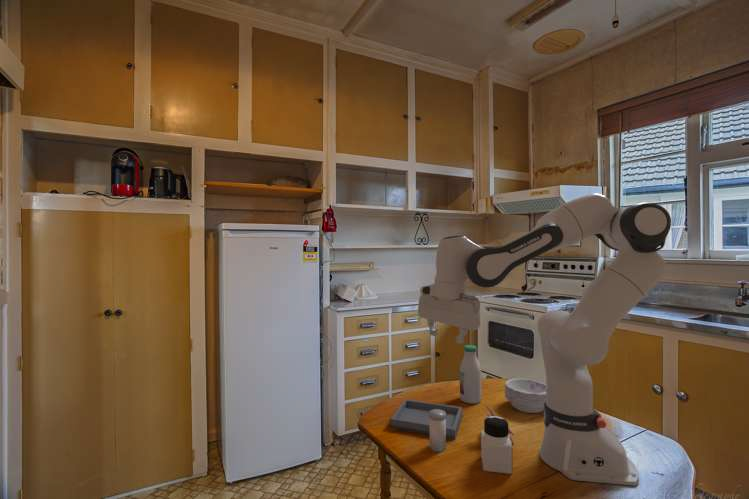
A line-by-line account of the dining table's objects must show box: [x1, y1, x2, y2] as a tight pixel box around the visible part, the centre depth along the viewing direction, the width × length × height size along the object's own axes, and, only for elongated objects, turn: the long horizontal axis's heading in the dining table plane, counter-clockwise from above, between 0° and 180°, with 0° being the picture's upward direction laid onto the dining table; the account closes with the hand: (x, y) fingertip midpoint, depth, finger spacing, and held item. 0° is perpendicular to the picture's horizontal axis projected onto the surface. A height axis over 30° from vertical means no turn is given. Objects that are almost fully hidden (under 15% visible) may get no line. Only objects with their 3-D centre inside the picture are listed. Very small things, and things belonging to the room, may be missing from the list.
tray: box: [390, 398, 463, 441], centre depth 122 cm, size 20×16×3 cm
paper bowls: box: [504, 378, 546, 414], centre depth 132 cm, size 15×15×8 cm
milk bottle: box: [459, 344, 482, 405], centre depth 139 cm, size 8×8×20 cm
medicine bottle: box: [480, 415, 513, 475], centre depth 98 cm, size 7×7×12 cm
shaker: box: [428, 409, 447, 453], centre depth 107 cm, size 5×5×10 cm
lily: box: [483, 403, 515, 444], centre depth 111 cm, size 12×12×10 cm
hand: (445, 339), depth 109 cm, fingers open, 8 cm apart
